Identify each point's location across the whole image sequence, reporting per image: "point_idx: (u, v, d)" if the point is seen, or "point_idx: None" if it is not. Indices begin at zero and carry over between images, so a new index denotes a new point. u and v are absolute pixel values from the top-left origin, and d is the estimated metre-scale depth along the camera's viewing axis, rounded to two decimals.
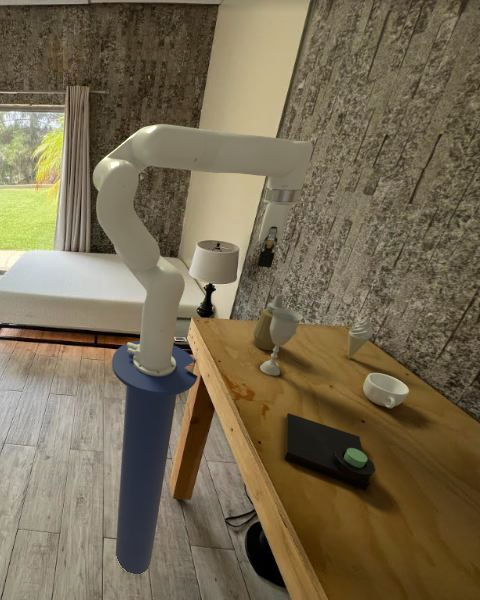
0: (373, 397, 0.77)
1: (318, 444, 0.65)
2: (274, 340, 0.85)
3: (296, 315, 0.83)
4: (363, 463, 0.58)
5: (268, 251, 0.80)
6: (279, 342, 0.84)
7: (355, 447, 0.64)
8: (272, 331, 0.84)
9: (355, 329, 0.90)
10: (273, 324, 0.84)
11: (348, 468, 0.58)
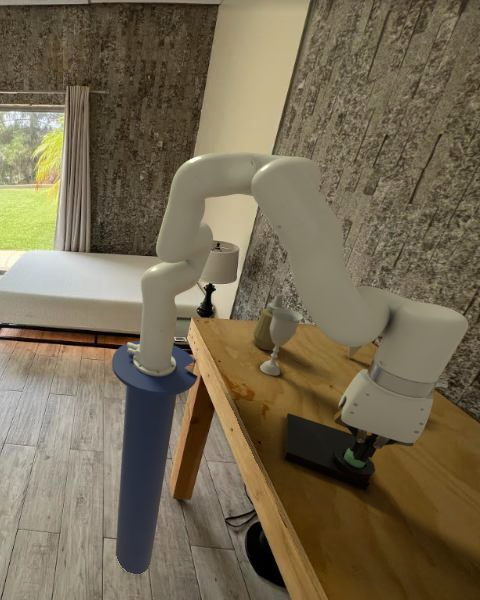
0: None
1: (318, 444, 0.65)
2: (274, 340, 0.85)
3: (296, 315, 0.83)
4: (363, 463, 0.58)
5: None
6: (279, 342, 0.84)
7: None
8: (272, 331, 0.84)
9: None
10: (273, 324, 0.84)
11: (348, 468, 0.58)
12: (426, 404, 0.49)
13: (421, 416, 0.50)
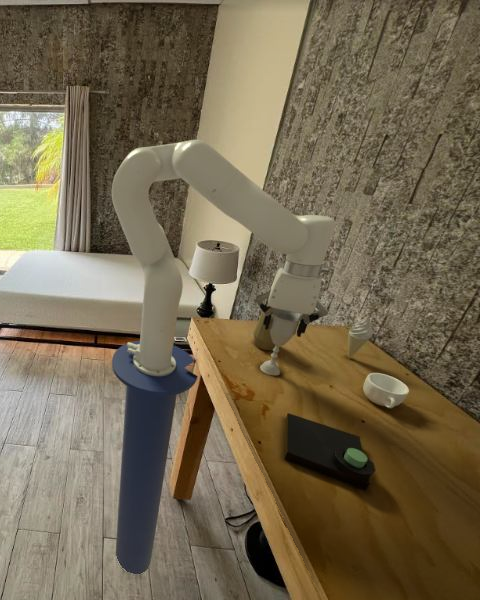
0: (373, 397, 0.77)
1: (318, 444, 0.65)
2: (274, 340, 0.85)
3: (296, 315, 0.83)
4: (363, 463, 0.58)
5: None
6: (279, 342, 0.84)
7: (355, 447, 0.64)
8: (272, 331, 0.84)
9: (355, 329, 0.90)
10: (273, 324, 0.84)
11: (348, 468, 0.58)
12: (316, 282, 0.74)
13: (314, 292, 0.75)
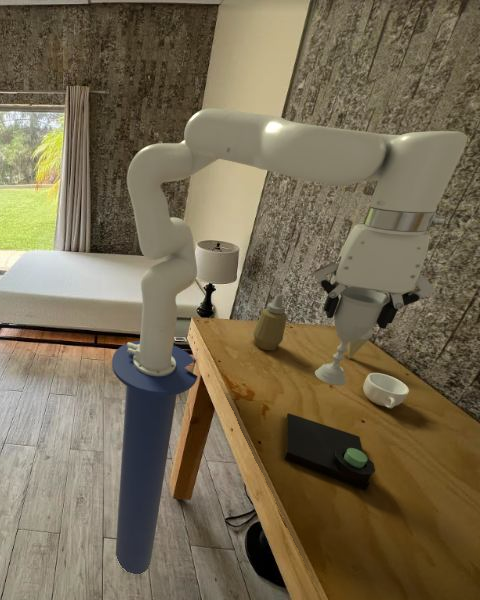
0: (373, 397, 0.77)
1: (318, 444, 0.65)
2: (342, 334, 0.57)
3: (377, 296, 0.56)
4: (363, 463, 0.58)
5: (326, 291, 0.57)
6: (350, 337, 0.57)
7: (355, 447, 0.64)
8: (340, 320, 0.57)
9: None
10: (341, 310, 0.56)
11: (348, 468, 0.58)
12: (422, 241, 0.47)
13: (417, 257, 0.48)
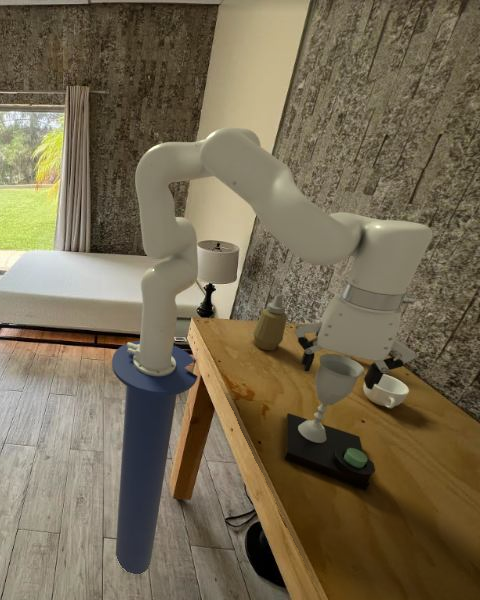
0: (373, 397, 0.77)
1: (318, 444, 0.65)
2: (321, 398, 0.62)
3: (353, 364, 0.61)
4: (363, 463, 0.58)
5: None
6: (329, 402, 0.62)
7: (355, 447, 0.64)
8: (319, 386, 0.61)
9: None
10: (321, 377, 0.61)
11: (348, 468, 0.58)
12: (394, 318, 0.51)
13: (390, 331, 0.52)
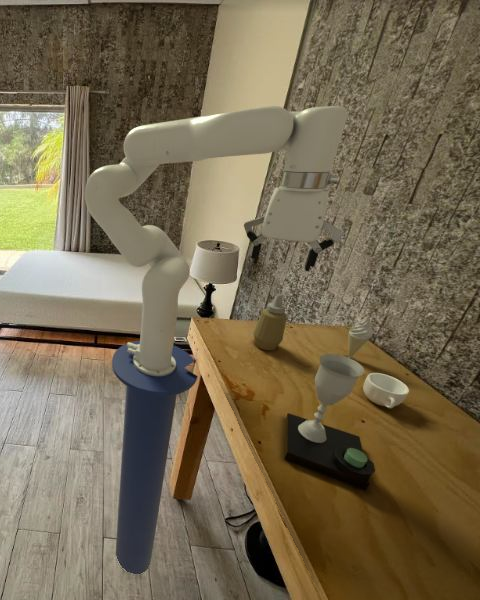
0: (373, 397, 0.77)
1: (318, 444, 0.65)
2: (321, 398, 0.62)
3: (353, 364, 0.61)
4: (363, 463, 0.58)
5: None
6: (329, 402, 0.62)
7: (355, 447, 0.64)
8: (319, 386, 0.61)
9: (355, 329, 0.90)
10: (321, 377, 0.61)
11: (348, 468, 0.58)
12: (321, 197, 0.59)
13: (319, 210, 0.60)
